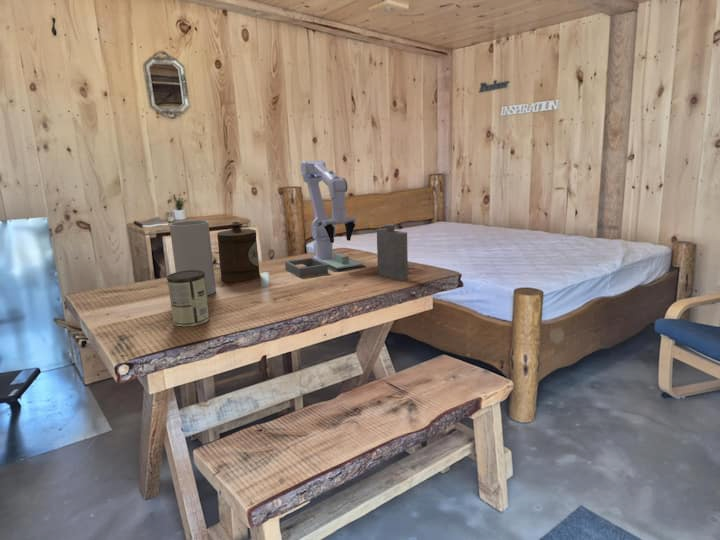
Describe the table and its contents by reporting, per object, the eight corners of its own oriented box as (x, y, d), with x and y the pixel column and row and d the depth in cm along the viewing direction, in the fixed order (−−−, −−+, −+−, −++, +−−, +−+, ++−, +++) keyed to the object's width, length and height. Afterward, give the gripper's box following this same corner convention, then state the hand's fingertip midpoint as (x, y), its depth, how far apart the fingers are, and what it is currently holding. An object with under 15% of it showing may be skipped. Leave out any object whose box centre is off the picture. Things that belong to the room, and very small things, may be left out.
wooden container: (263, 279, 186) (258, 222, 181) (223, 284, 181) (217, 226, 176) (256, 271, 200) (251, 218, 194) (219, 275, 194) (213, 221, 189)
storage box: (285, 269, 200) (285, 261, 199) (312, 265, 205) (311, 257, 204) (300, 277, 186) (299, 268, 185) (328, 273, 192) (327, 264, 191)
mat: (318, 264, 207) (318, 263, 207) (348, 260, 213) (348, 259, 213) (335, 271, 193) (335, 270, 193) (365, 266, 199) (365, 266, 199)
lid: (320, 263, 207) (320, 253, 206) (345, 259, 213) (345, 250, 212) (337, 270, 194) (336, 260, 193) (363, 266, 199) (362, 256, 198)
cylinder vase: (222, 289, 174) (215, 220, 168) (203, 299, 162) (194, 225, 156) (192, 288, 177) (184, 220, 171) (171, 298, 166) (161, 225, 160)
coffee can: (179, 315, 146) (173, 270, 143) (213, 314, 147) (208, 269, 143) (167, 327, 136) (160, 279, 133) (204, 326, 137) (198, 278, 133)
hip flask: (409, 279, 177) (408, 225, 172) (401, 281, 175) (400, 227, 170) (382, 272, 190) (381, 221, 185) (374, 274, 187) (372, 222, 183)
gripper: (326, 211, 191) (328, 244, 194) (359, 207, 197) (360, 240, 200) (319, 209, 197) (321, 242, 200) (351, 206, 203) (352, 238, 207)
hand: (340, 241), depth 201 cm, fingers open, 7 cm apart
